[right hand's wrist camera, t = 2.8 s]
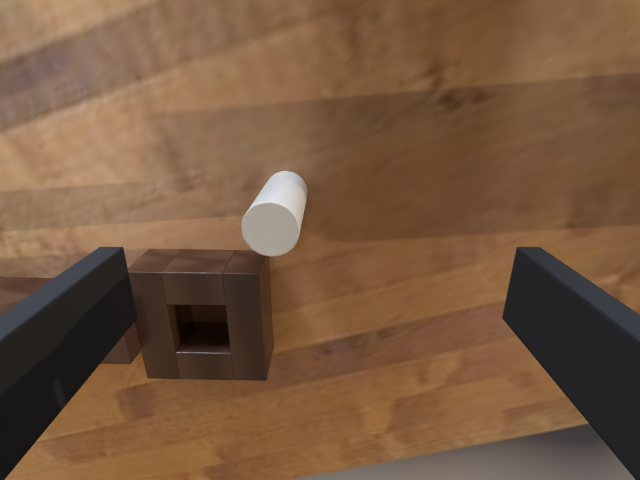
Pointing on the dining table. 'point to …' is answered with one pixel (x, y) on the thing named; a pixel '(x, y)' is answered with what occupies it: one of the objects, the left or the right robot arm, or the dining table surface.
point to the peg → (276, 215)
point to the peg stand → (189, 314)
